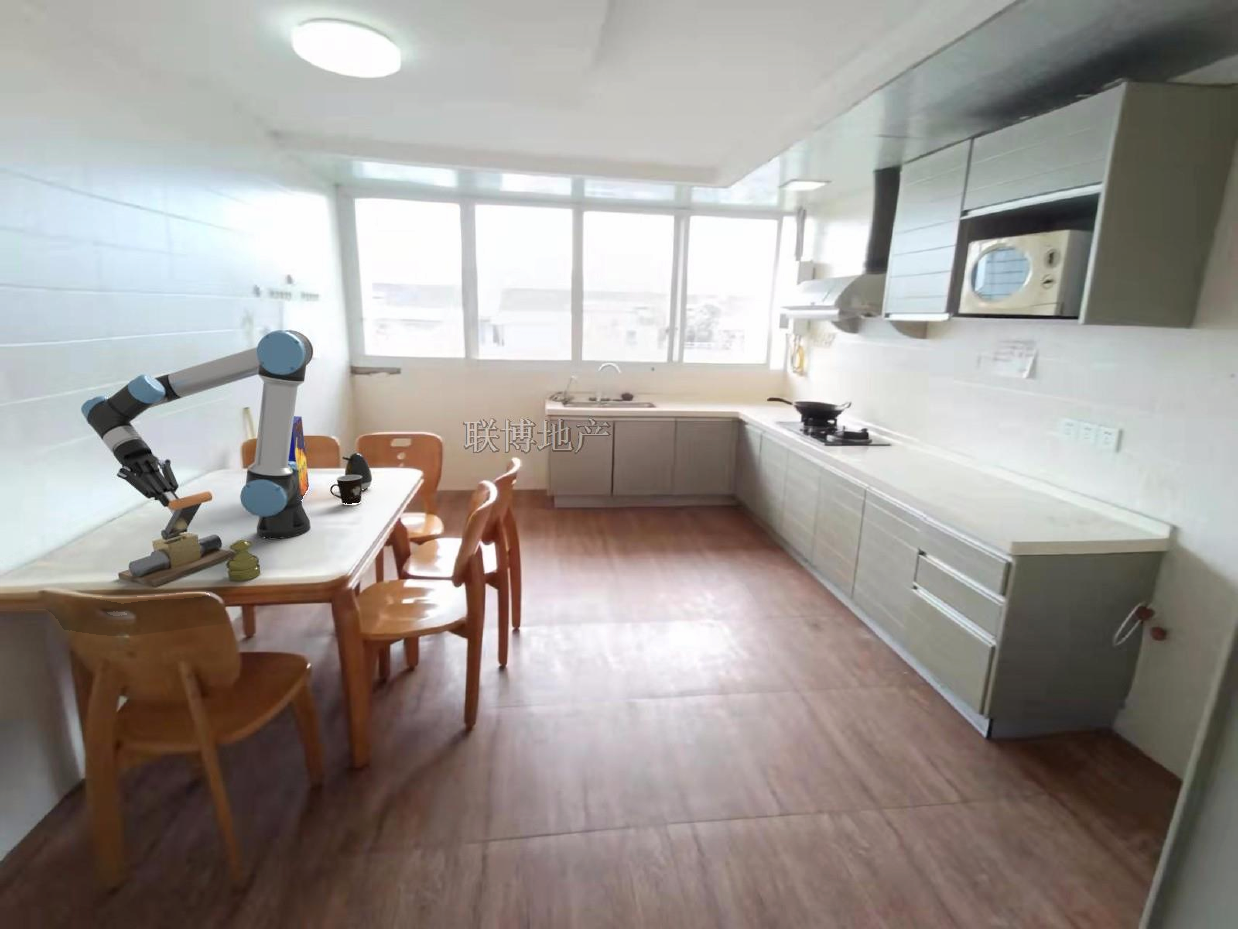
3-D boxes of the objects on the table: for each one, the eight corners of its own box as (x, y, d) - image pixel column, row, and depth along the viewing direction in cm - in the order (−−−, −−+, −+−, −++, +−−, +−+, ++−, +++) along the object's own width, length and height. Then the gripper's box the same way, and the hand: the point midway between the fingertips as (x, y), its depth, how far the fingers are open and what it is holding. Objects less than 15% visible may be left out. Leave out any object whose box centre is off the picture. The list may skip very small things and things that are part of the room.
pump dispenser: (341, 489, 244) (338, 452, 240) (367, 484, 250) (364, 449, 247) (350, 494, 236) (346, 456, 233) (376, 490, 243) (373, 453, 240)
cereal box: (300, 504, 222) (292, 424, 216) (282, 506, 220) (273, 425, 214) (309, 489, 242) (301, 415, 236) (292, 490, 240) (284, 416, 234)
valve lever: (146, 538, 158) (167, 499, 152) (185, 526, 168) (207, 489, 161) (153, 546, 158) (174, 507, 152) (192, 533, 168) (213, 496, 161)
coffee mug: (361, 499, 231) (359, 473, 228) (366, 504, 224) (364, 478, 221) (328, 503, 225) (326, 477, 222) (332, 509, 218) (329, 482, 215)
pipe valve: (119, 578, 158) (113, 548, 156) (201, 549, 178) (196, 522, 176) (155, 587, 153) (149, 555, 151) (235, 556, 173) (231, 528, 171)
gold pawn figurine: (266, 570, 164) (262, 536, 162) (251, 582, 157) (246, 546, 155) (238, 570, 164) (234, 535, 162) (222, 582, 157) (217, 545, 154)
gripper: (148, 451, 169) (198, 514, 168) (95, 460, 158) (148, 529, 156) (158, 434, 167) (209, 498, 165) (105, 442, 155) (159, 512, 153)
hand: (179, 513), depth 160 cm, fingers closed
